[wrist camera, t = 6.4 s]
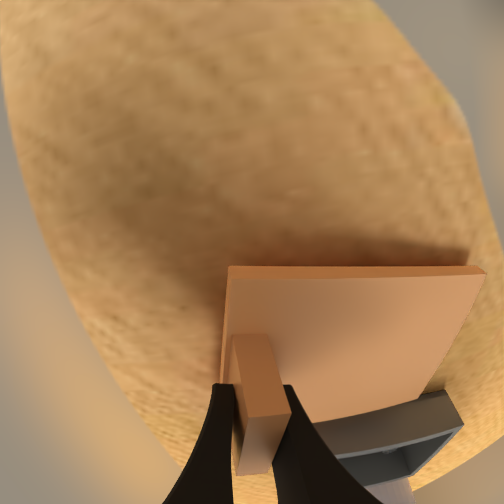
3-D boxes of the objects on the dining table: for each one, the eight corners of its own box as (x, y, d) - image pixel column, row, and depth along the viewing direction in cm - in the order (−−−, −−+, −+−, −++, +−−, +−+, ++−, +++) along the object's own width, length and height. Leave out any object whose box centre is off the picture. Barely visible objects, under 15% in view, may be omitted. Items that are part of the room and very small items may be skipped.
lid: (406, 380, 17) (441, 439, 13) (215, 407, 15) (227, 493, 11) (467, 257, 13) (532, 314, 9) (225, 253, 11) (250, 363, 7)
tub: (401, 445, 22) (412, 475, 19) (282, 462, 21) (287, 499, 18) (445, 389, 18) (464, 424, 15) (305, 408, 17) (316, 457, 14)
